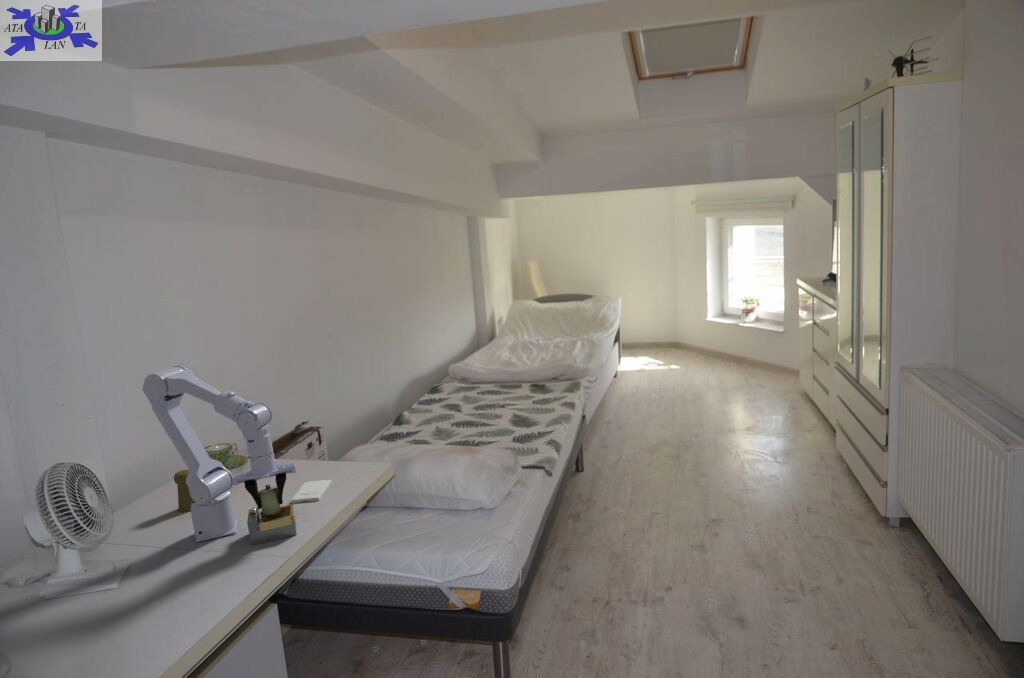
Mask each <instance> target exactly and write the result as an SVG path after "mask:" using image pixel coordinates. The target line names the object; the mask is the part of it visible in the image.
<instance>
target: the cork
mask: <svg viewBox="0 0 1024 678" xmlns="http://www.w3.org/2000/svg"><path fill="white" fill-rule="evenodd" d="M188 474H189V469H188V468H186V469H182V470H180V471H177V472H176V473H174V476H173V481H174V482H175V484H176V485H177V487H176V488H177V501H178V502H177V503H178V512H180V513H188V512H191V505H192V504H193V503H196V502H195V501H194V500H193V499H192V498H191V496H190V492H189V488H188V485H187V484H186V479H187V477H188Z"/></svg>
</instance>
